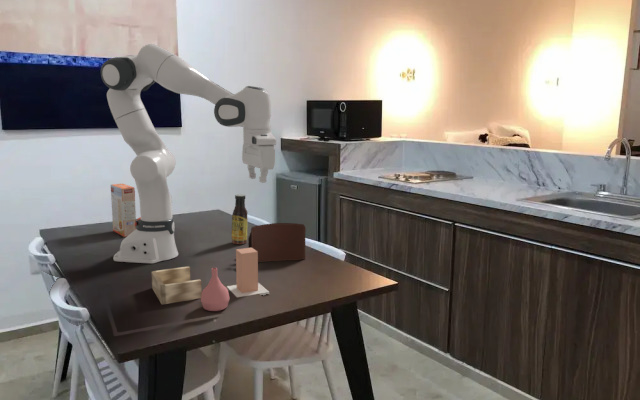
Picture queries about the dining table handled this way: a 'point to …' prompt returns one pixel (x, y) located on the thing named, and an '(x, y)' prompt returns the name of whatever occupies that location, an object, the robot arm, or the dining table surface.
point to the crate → (175, 285)
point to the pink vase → (215, 294)
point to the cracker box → (123, 209)
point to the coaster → (238, 293)
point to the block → (247, 269)
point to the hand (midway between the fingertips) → (257, 180)
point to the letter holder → (278, 241)
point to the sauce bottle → (239, 221)
